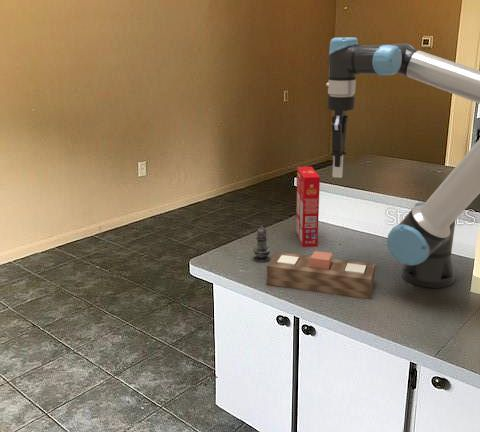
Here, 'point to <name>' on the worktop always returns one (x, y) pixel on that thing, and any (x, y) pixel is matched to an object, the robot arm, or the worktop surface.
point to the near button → (355, 268)
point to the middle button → (321, 260)
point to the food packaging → (307, 206)
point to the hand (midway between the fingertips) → (337, 176)
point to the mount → (321, 277)
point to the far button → (288, 260)
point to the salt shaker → (261, 246)
